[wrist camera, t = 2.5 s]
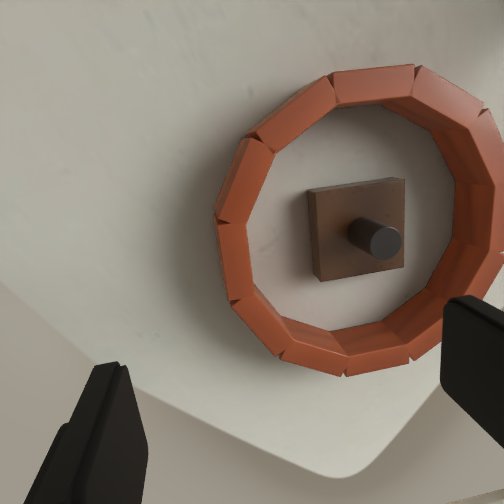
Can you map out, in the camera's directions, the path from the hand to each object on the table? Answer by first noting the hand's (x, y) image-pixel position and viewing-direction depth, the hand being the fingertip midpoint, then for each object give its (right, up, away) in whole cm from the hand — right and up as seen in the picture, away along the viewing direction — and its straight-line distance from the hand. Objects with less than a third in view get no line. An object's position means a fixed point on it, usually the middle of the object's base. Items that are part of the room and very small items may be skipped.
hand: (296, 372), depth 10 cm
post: (+6, +5, +14) cm, 16 cm away
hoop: (+6, +5, +14) cm, 16 cm away
